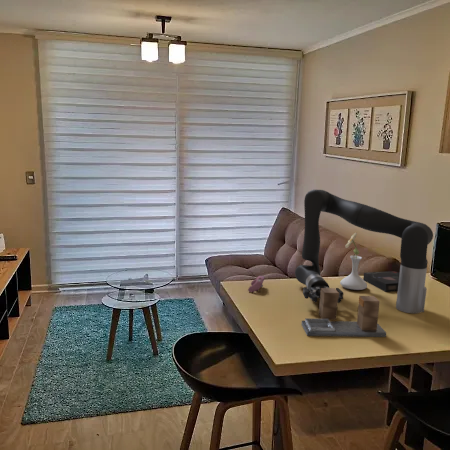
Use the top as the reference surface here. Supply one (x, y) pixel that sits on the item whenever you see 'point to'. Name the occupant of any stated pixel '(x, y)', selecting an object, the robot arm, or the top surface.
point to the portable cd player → (383, 280)
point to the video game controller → (256, 284)
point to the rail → (338, 328)
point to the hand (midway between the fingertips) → (327, 300)
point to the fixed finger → (368, 312)
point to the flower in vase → (354, 271)
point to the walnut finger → (328, 303)
